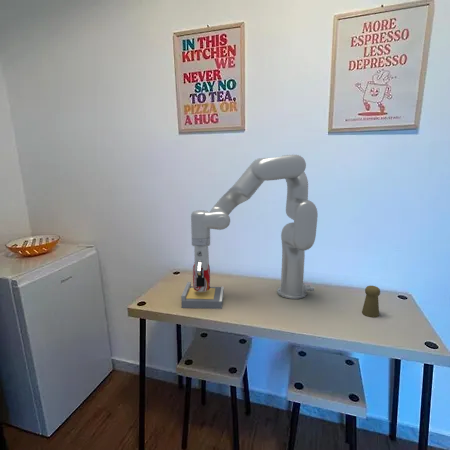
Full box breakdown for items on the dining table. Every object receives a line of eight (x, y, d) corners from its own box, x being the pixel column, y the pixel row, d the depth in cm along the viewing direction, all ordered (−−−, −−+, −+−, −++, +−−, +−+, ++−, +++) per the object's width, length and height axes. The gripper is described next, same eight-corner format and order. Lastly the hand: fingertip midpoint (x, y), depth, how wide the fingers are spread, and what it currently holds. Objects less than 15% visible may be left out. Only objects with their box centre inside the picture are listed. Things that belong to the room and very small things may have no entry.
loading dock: (223, 293, 138) (223, 282, 137) (221, 308, 123) (221, 296, 122) (187, 292, 139) (187, 282, 138) (181, 307, 124) (181, 296, 123)
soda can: (209, 293, 127) (209, 265, 125) (192, 293, 127) (191, 265, 125) (210, 286, 134) (210, 259, 131) (194, 286, 134) (193, 259, 132)
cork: (378, 319, 116) (381, 291, 113) (360, 315, 119) (363, 287, 117) (380, 312, 121) (382, 285, 118) (363, 308, 124) (365, 282, 122)
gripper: (208, 246, 118) (208, 291, 121) (212, 236, 135) (212, 275, 138) (188, 246, 118) (189, 291, 121) (194, 236, 135) (195, 275, 138)
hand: (201, 282), depth 130 cm, fingers closed on soda can, 6 cm apart
